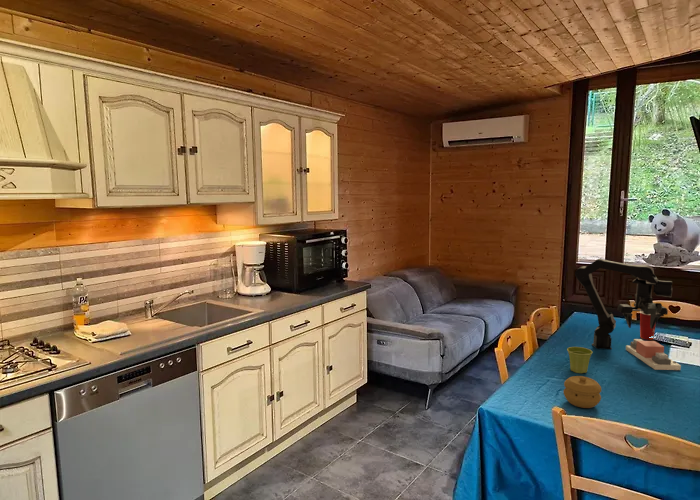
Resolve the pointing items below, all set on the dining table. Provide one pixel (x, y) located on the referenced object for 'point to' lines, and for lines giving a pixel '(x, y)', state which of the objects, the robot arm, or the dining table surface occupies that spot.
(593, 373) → the dining table surface
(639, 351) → the terracotta orange block
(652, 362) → the breaker panel
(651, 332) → the paper cup
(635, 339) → the breaker left
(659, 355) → the breaker right
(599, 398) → the pot
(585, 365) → the plant pot
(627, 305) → the robot arm
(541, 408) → the dining table surface
